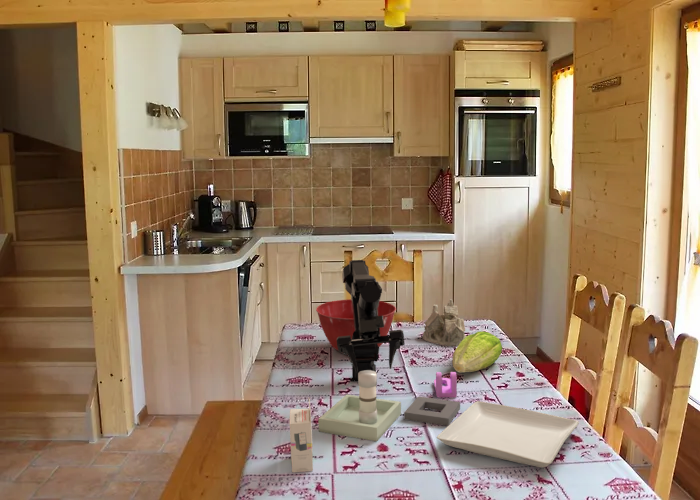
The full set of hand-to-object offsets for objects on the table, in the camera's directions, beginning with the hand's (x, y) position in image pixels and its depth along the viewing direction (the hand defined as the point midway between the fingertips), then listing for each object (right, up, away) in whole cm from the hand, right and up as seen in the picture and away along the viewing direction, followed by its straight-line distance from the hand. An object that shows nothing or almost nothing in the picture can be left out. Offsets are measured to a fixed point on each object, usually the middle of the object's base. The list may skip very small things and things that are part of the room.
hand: (373, 370), depth 182 cm
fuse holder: (+16, -11, -2) cm, 20 cm away
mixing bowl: (-4, -3, +57) cm, 57 cm away
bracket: (+22, -9, +16) cm, 28 cm away
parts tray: (-4, -13, -7) cm, 15 cm away
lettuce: (+34, -6, +34) cm, 48 cm away
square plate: (+33, -14, -19) cm, 40 cm away
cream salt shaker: (-2, -12, -8) cm, 14 cm away
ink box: (-18, -17, -29) cm, 38 cm away
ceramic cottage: (+29, -1, +66) cm, 72 cm away
